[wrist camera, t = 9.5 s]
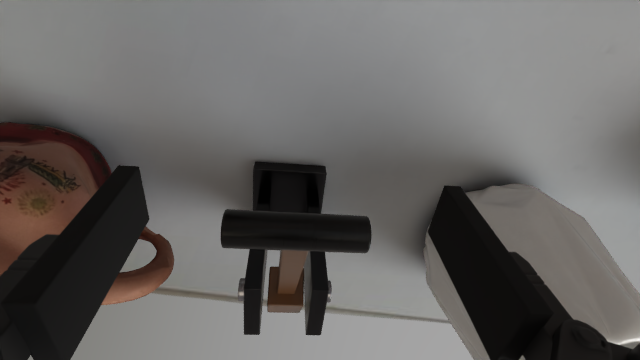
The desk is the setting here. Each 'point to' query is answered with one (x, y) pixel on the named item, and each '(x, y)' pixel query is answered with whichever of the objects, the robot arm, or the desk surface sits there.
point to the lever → (293, 245)
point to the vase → (546, 265)
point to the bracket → (268, 195)
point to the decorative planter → (60, 199)
